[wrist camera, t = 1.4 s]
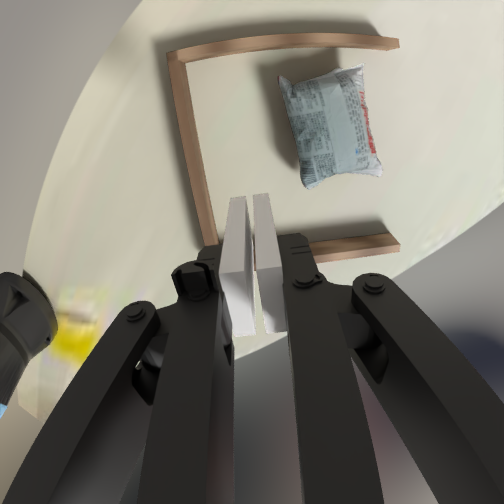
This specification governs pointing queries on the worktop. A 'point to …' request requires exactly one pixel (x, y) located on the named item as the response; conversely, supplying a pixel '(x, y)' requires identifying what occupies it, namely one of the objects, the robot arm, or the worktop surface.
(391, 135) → the worktop surface
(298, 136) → the packaged food
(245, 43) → the wooden frame
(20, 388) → the worktop surface
